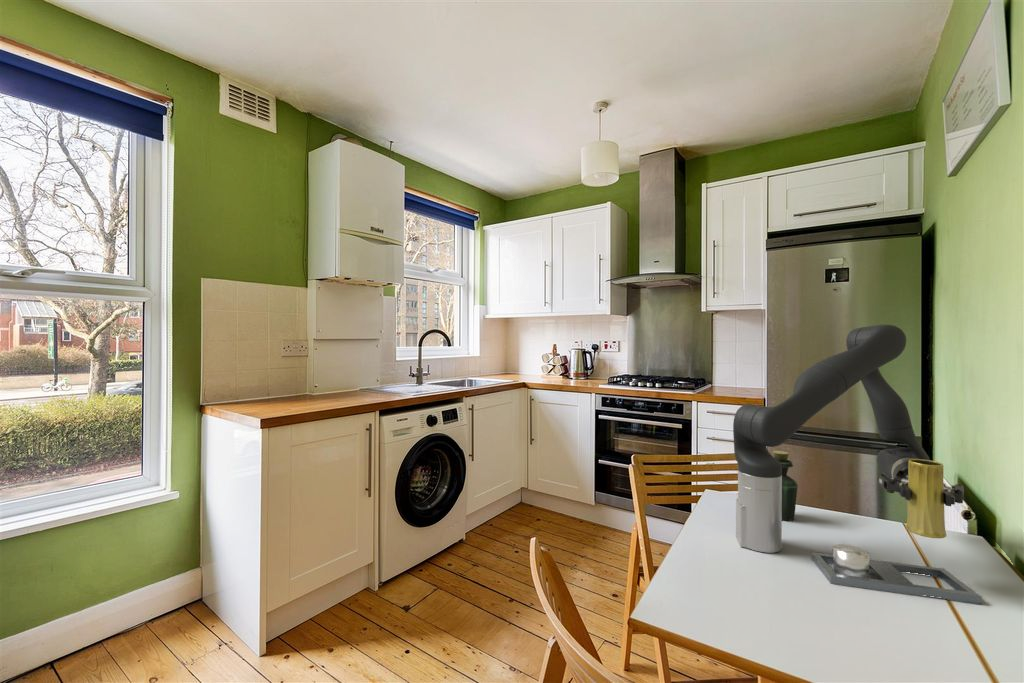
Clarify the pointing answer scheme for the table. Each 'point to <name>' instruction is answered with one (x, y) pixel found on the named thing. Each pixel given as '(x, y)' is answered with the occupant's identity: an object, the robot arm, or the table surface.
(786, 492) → the potion bottle
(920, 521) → the vase
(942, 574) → the grey rectangular frame
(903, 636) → the table surface
